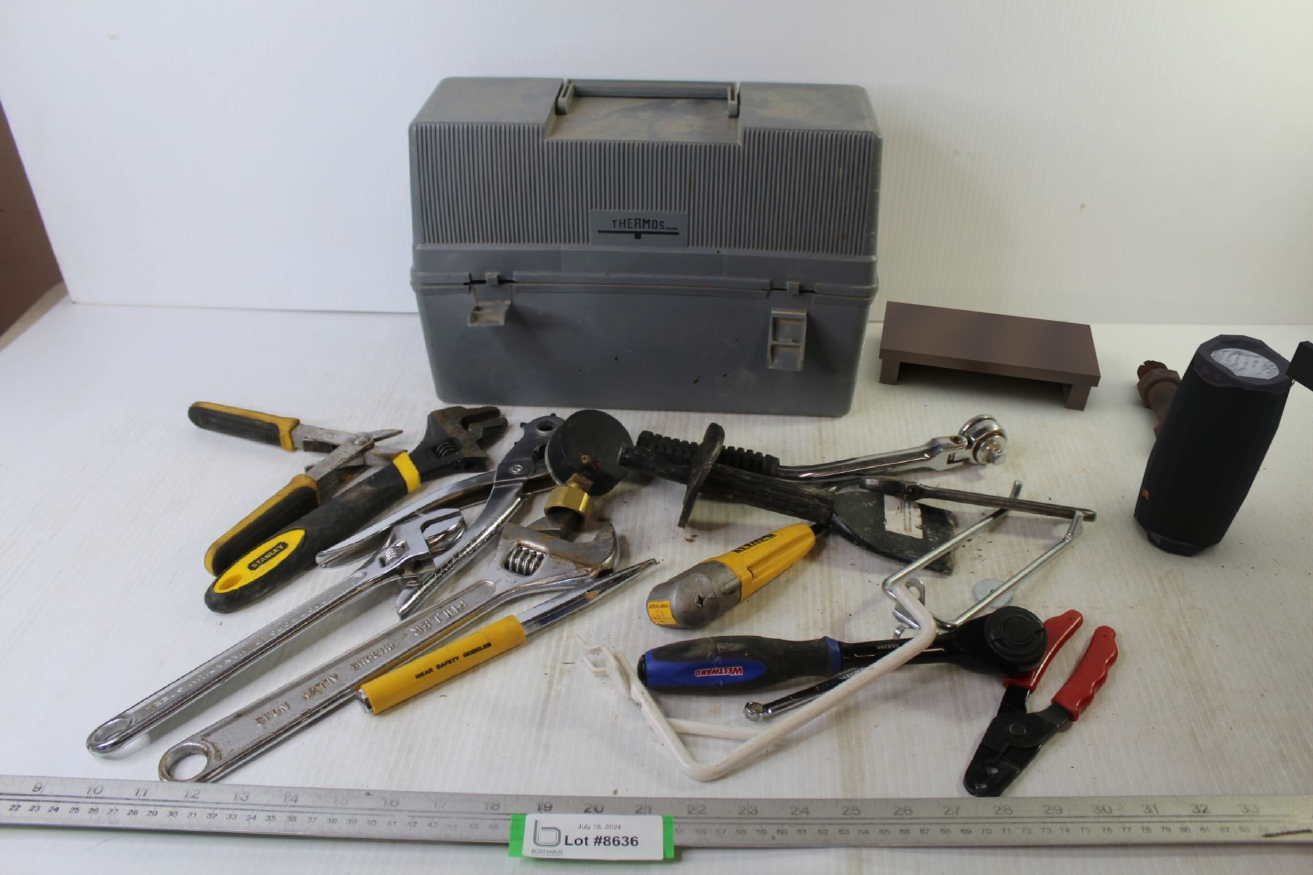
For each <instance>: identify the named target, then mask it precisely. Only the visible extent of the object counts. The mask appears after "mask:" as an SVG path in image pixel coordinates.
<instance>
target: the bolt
mask: <svg viewBox="0 0 1313 875" xmlns="http://www.w3.org/2000/svg"><path fill="white" fill-rule="evenodd" d="M1136 375H1137V378H1138V382H1137V383H1136V387H1137V388H1136V389H1137V391H1138V393H1139V396H1140V398H1141V401H1142V403H1143V406H1144V407H1145V408H1149V409H1152V410H1153V413H1154V414H1155V417H1156V419H1157V421H1158V424H1157V425H1156V426H1155V427H1153V429H1152V430H1153V433H1154V436H1155V439H1156V438H1157V435H1158V433H1159V430H1160V428H1161V425H1162V423H1163V420H1164V418H1165V415H1166V413H1167V410H1168V408H1169V405H1170V402H1171V400H1172V397H1173V395H1174V393H1175V391H1176V389H1177V387H1178V385H1179V383H1180V381H1181V379H1182V378H1181V376H1180V374H1179V372H1178V371H1177V370H1175V369H1169V368H1168V366H1167V365H1166V364H1165V363H1163V362H1161V361H1157V360H1154V359H1151V360H1150V359H1146V360H1144V361H1143V362H1142V364H1140V365H1139V366H1138V368H1137V371H1136Z"/></svg>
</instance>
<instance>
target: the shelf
mask: <svg viewBox="0 0 1313 875" xmlns="http://www.w3.org/2000/svg"><path fill="white" fill-rule="evenodd" d="M878 359H879V360H881V365H880V372H879V380H878V383H880V384H887V385H894V386H896V385H897V382H898V378H899V377H898V376H899V371H900V367H901V366H900V364H901V363H906V364H907V363H908V364H915V365H922V366H929V367H930V366H931V367H938V368H946V369H953V370H959V371H960V370H961V371H969V372H975V373H976V372H977V373H984V374H992V375H1000V376H1007V377H1014V378H1015V377H1016V378H1022V379H1030V380H1038V381H1045V382H1053V383H1061V384H1062V392H1063V400H1064V405H1065V409H1069V410H1077V411H1085V409H1086V407H1087V406H1086V405H1087V402H1088V399H1089V397H1090V393H1091V389H1092V387H1093V388H1098V387H1099V385H1100V384H1099V383H1100V380H1101V377H1102V375H1101V370H1100V365H1099V360H1098V356H1097V352H1096V347H1095V342H1094V337H1093V333H1092V327H1091V325H1090V324H1086V323H1079V322H1070V321H1062V320H1061V321H1060V320H1053V319H1043V318H1038V317H1037V318H1036V317H1027V316H1019V315H1010V314H1003V313H1002V314H1001V313H993V312H984V311H978V310H977V311H976V310H967V309H959V308H951V307H942V306H934V305H925V304H918V303H917V304H916V303H909V302H901V301H892V300H886V305H885V311H884V317H883V324H882V331H881V339H880V346H879V352H878Z"/></svg>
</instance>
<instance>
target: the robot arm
mask: <svg viewBox="0 0 1313 875" xmlns="http://www.w3.org/2000/svg"><path fill="white" fill-rule="evenodd" d="M1285 375H1287V376H1289V377H1290V378H1292V379H1293V381H1294V380H1295V382H1296V383H1298V384H1300V385H1301V386H1303V387H1304V388H1306V389H1308V390H1309V391H1310V392H1312V393H1313V342H1311V341H1309V340H1304V341H1299V342H1298V345H1297V346H1296V349H1295V351H1294V353H1293V355H1292V358H1291V360H1290V364H1289V366H1288V369H1287V371H1286V373H1285Z"/></svg>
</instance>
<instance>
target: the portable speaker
mask: <svg viewBox="0 0 1313 875" xmlns="http://www.w3.org/2000/svg"><path fill="white" fill-rule="evenodd" d="M1290 362H1291V360H1290V361H1289V359H1287V358H1285V357H1284V356H1283V355H1282V354H1280V353H1278V352H1277V351H1276V350H1274V349H1273V348H1271V347H1270V346H1269V345H1268V344H1267V343H1266V342H1265V341H1264V340H1262V339H1259V338H1256V337H1252V336H1249V335H1244V334H1226V333H1225V334H1223V333H1221V334H1218V335H1217V336H1214V337H1212V338H1210V339H1208V340H1206V341H1204V342H1202V343H1200V344H1199V346H1198V347H1197V349H1196V350H1195V352H1194V354H1193V356H1192V357H1191V360H1190V361H1189V364H1188V365H1187V367H1186V370H1185V372H1184V373H1183V375H1182V378H1180V379H1181V381H1180V383H1179V385H1178V387H1177V389H1176V391H1175V393H1174V395H1173V397H1172V400H1171V402H1170V405H1169V408H1168V410H1167V413H1166V415H1165V418H1164V420H1163V423H1162V425H1161V428H1160V430H1159V433H1158V435H1157V438H1156V437H1155V441H1154V443H1153V446H1152V448H1151V451H1150V454H1149V456H1148V458H1147V462H1146V464H1145V469H1144V473H1143V475H1142V480H1141V483H1140V487H1139V491H1138V494H1137V498H1136V503H1135V506H1134V510H1133V511H1134V512H1133V515H1132V516H1133V517H1135V519H1136V521H1137V522H1138V524H1139V525H1140V527H1141V528H1142V529H1143V531H1144V532H1145V534H1146V536H1147V540H1148V542H1149V543H1150V544H1151V545H1154V546H1155V547H1157V548H1159V549H1160V550H1162V551H1164V552H1165V553H1170V554H1175V555H1179V556H1184V557H1193V556H1194V555H1196V554H1198V553H1200V552H1201V551H1202V552H1203V551H1204V550H1206V549H1208V548H1210V547H1213V546H1215V545H1218V544H1220V542H1221V541H1222V540H1223V539H1224V537H1225V536H1226V534H1227V532H1228V531H1229V529H1230V527H1231V525H1232V523H1233V521H1234V520H1235V518H1236V516H1237V514H1238V512H1239V510H1240V509H1241V507H1242V505H1243V503H1244V502H1245V500H1246V498H1247V497H1248V494H1249V493H1250V491H1251V488H1252V486H1253V484H1254V481H1255V480H1256V478H1257V475H1258V473H1259V471H1260V469H1261V467H1262V464H1263V462H1264V460H1265V458H1266V456H1267V454H1268V451H1269V449H1270V447H1271V445H1272V443H1273V441H1274V439H1275V437H1276V434H1277V432H1278V430H1279V428H1280V425H1281V421H1282V417H1283V414H1284V410H1285V407H1286V404H1287V402H1288V398H1289V395H1290V391H1291V388H1293V387H1294V385H1295V384H1296V381H1295V380H1293V379H1292V378H1290V377H1289V376H1287V375H1285V373H1286V371H1287V369H1288V366H1289V364H1290Z"/></svg>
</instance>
